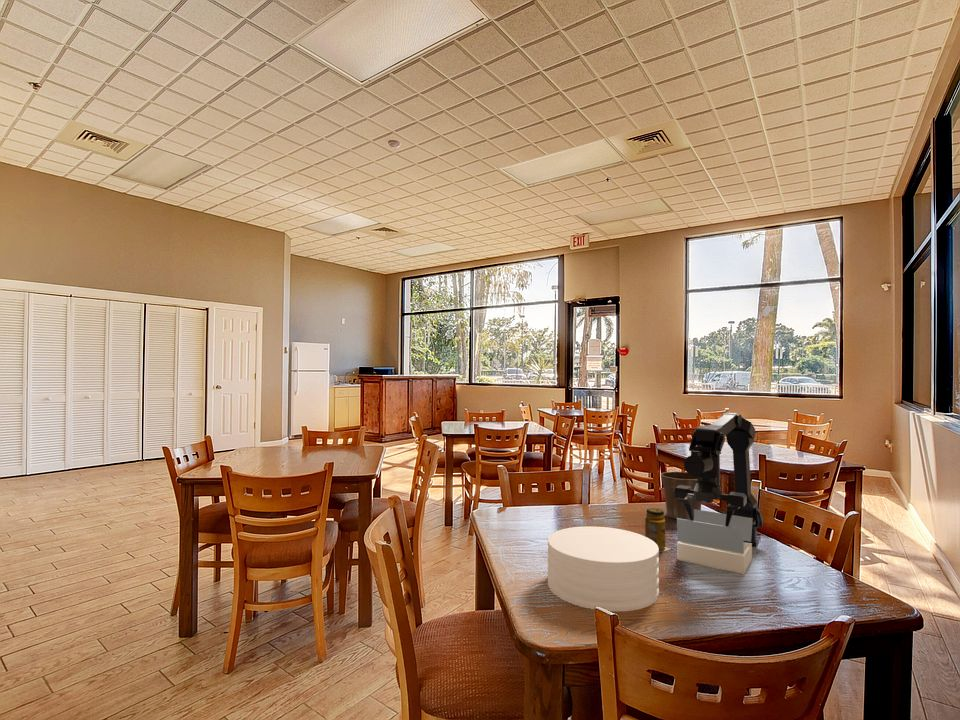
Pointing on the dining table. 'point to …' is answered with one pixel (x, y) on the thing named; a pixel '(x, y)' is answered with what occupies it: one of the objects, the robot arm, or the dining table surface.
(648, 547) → the plate stack
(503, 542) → the dining table surface
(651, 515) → the condiment
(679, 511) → the plant pot
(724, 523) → the flap
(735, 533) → the flap
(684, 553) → the carton
